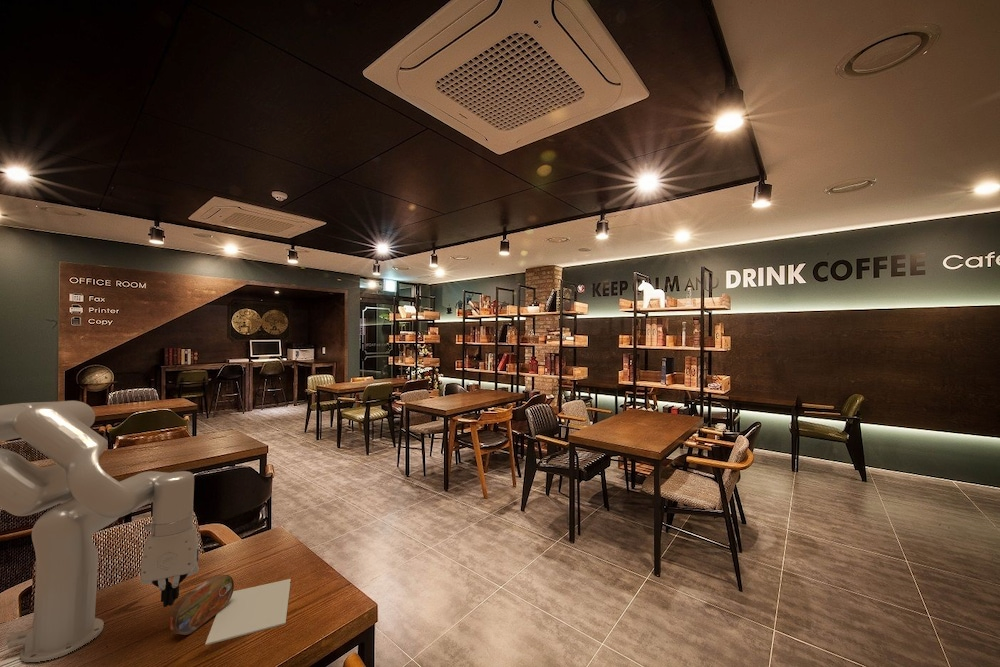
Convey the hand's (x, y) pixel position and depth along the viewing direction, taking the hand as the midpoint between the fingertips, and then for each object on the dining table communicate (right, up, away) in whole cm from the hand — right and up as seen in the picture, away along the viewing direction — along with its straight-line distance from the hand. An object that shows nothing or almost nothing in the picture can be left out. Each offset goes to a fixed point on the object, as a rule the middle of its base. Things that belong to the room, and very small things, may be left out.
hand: (169, 602), depth 92 cm
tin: (+6, -6, +3) cm, 9 cm away
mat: (+16, -7, +7) cm, 18 cm away
